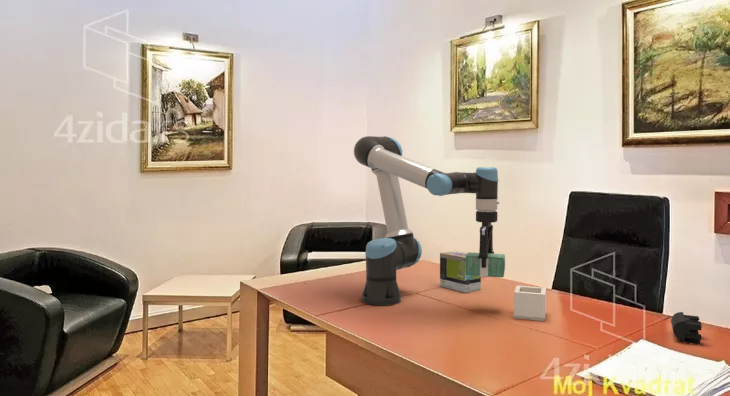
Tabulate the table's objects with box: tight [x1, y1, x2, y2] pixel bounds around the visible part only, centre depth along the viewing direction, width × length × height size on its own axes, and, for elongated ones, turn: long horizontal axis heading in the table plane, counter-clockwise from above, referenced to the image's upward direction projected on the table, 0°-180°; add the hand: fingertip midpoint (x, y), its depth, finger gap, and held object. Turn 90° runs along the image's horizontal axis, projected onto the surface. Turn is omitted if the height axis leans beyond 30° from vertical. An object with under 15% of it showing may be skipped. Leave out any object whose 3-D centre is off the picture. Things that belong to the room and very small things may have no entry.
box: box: [466, 252, 506, 278], centre depth 189 cm, size 7×14×8 cm, turn 73°
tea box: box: [439, 250, 482, 294], centre depth 221 cm, size 15×10×15 cm
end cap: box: [670, 311, 703, 345], centre depth 158 cm, size 10×7×7 cm
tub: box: [513, 285, 547, 322], centre depth 182 cm, size 10×10×9 cm
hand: (485, 273), depth 189 cm, fingers closed on box, 8 cm apart
